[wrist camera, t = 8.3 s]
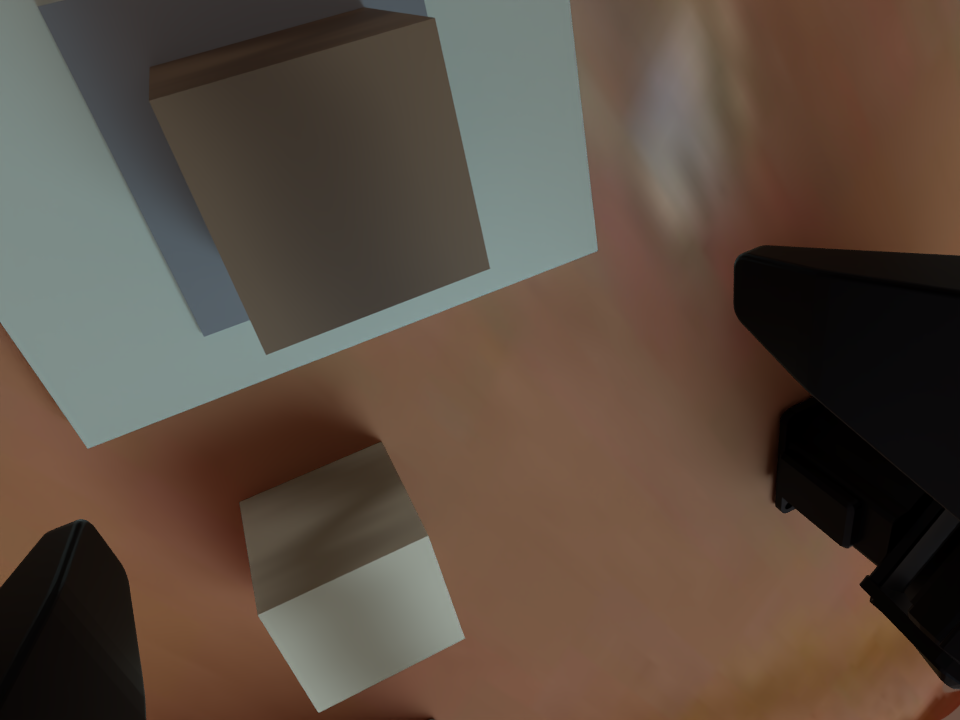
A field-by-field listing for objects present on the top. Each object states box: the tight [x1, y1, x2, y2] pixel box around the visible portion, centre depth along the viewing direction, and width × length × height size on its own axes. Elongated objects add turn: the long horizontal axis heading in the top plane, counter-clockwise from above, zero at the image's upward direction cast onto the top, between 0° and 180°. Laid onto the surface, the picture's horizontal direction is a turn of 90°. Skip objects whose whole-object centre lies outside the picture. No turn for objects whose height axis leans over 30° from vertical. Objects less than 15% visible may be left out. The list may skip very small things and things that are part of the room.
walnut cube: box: [149, 7, 490, 355], centre depth 15 cm, size 5×5×5 cm
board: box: [0, 0, 598, 448], centre depth 17 cm, size 16×12×1 cm
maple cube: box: [239, 442, 465, 713], centre depth 22 cm, size 5×5×5 cm
